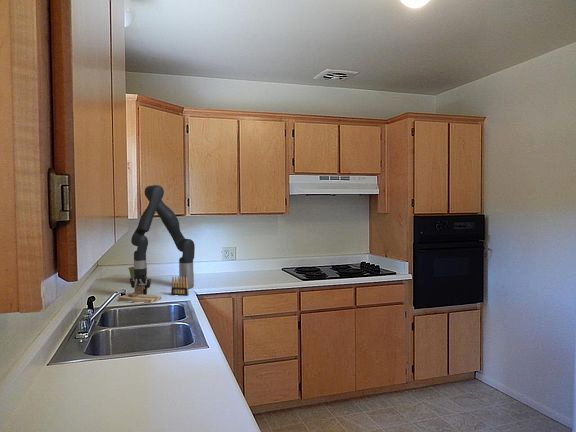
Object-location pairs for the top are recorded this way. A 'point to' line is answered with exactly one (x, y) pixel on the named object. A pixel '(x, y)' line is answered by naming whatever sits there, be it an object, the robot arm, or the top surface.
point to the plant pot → (131, 272)
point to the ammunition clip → (179, 287)
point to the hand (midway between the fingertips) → (140, 294)
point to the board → (140, 298)
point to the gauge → (137, 291)
